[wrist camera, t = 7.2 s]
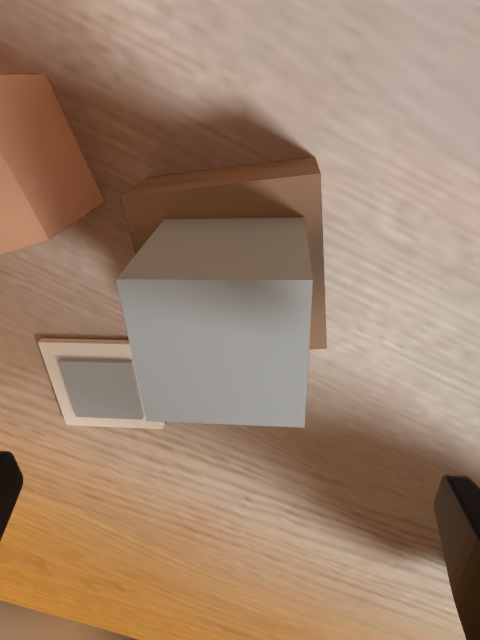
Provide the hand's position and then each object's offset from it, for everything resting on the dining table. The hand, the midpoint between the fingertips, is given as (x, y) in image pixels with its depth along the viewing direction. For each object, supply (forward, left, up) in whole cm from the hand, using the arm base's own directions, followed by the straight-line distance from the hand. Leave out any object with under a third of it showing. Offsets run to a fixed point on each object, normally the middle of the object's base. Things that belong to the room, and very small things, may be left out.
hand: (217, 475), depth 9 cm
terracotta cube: (+4, +10, -12) cm, 16 cm away
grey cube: (0, +1, -9) cm, 9 cm away
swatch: (-8, +9, -12) cm, 16 cm away
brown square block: (+1, +1, -12) cm, 12 cm away
